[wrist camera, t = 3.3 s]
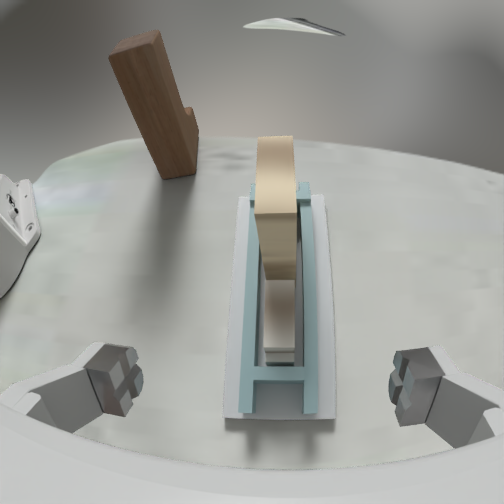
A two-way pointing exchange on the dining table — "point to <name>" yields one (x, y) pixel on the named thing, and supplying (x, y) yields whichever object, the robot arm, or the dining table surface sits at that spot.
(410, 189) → the dining table surface
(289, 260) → the beige rectangular slab
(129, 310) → the dining table surface
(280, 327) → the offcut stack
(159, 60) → the wooden block
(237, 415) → the rack
